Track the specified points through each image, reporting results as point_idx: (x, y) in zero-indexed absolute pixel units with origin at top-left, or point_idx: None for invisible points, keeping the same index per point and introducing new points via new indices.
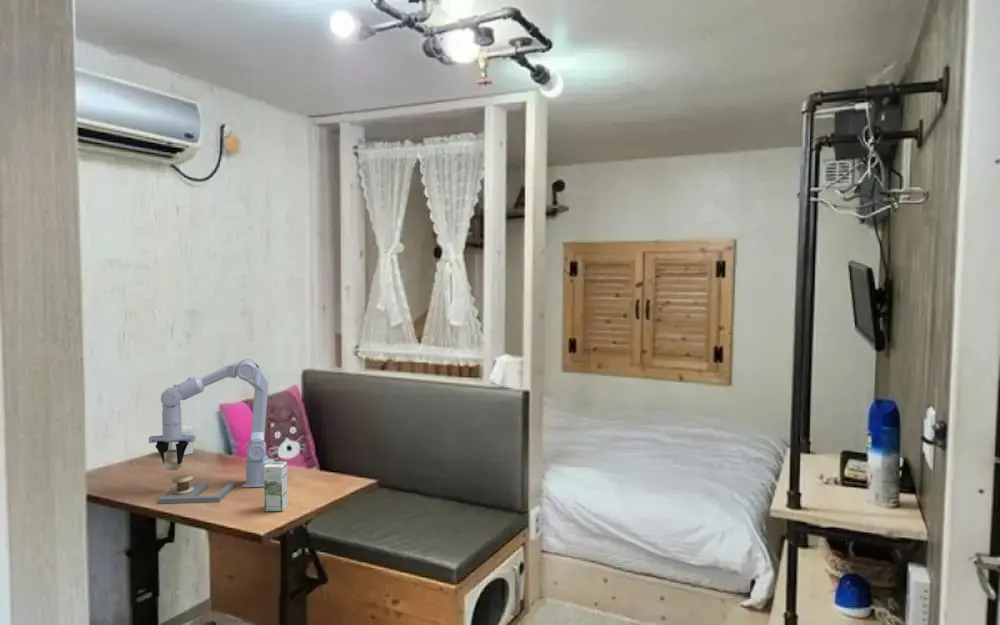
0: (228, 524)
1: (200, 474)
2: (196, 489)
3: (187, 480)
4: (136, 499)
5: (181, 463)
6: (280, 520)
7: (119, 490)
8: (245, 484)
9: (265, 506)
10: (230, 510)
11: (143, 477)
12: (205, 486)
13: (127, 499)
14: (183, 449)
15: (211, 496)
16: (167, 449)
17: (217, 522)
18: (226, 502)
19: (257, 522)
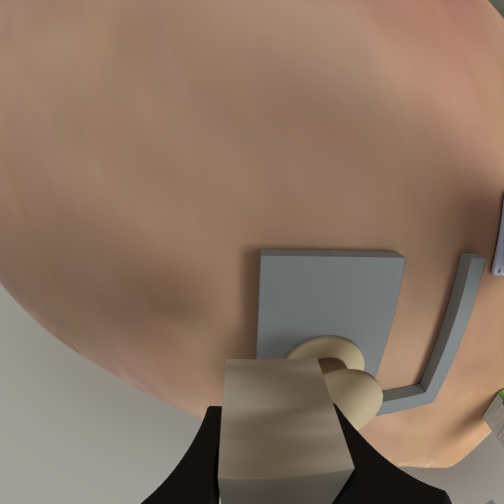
0: (422, 465)
1: (291, 24)
2: (370, 346)
3: (360, 424)
4: (148, 371)
5: (322, 375)
6: (484, 434)
7: (28, 256)
8: (500, 256)
9: (487, 423)
10: (438, 426)
11: (38, 79)
12: (396, 292)
13: (116, 365)
14: (378, 479)
15: (416, 399)
16: (212, 495)
17: (408, 465)
18: (441, 392)
19: (459, 448)
